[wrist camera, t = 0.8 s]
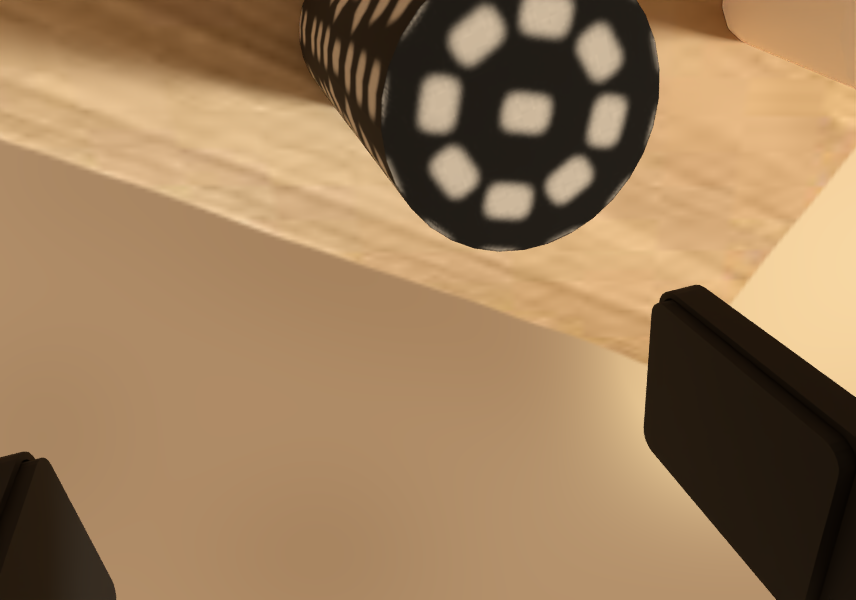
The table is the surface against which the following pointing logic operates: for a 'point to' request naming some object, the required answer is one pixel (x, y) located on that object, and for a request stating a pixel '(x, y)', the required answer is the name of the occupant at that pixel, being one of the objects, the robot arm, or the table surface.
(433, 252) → the table surface
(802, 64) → the foam cup
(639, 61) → the spotted tube
